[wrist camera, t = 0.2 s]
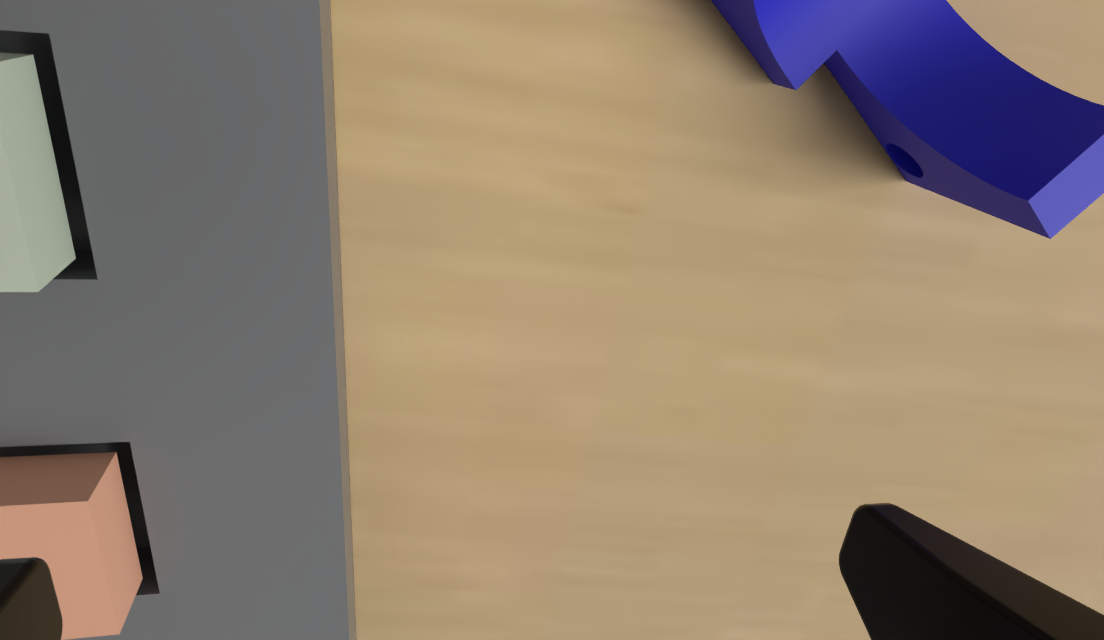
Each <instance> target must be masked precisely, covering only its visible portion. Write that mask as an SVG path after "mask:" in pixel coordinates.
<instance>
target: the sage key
mask: <svg viewBox="0 0 1104 640" xmlns="http://www.w3.org/2000/svg"><path fill="white" fill-rule="evenodd" d="M75 259H76V257H75V252H74V247H73V242H72V237H71V233H70V228H69V223H68V218H67V214H66V209H65V204H64V199H63V194H62V190H61V185H60V180H59V175H58V170H57V166H56V161H55V156H54V151H53V147H52V142H51V137H50V132H49V127H48V123H47V118H46V113H45V108H44V103H43V99H42V94H41V89H40V84H39V80H38V75H37V70H36V65H35V60H34V56H33V54H18V53H3V52H0V292H39V291H40V290H41V289H42V288H43V287H44V286H46V285H47V284H48V283H49V282H50V281H51V280H52V279H53V278H55V277H56V276H57V275H58V274H59V273H60V272H61V271H62V270H64V269H65V268H66V267H67V266H68V265H69V264H70V263H71V262H72V261H74V260H75Z"/></svg>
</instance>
